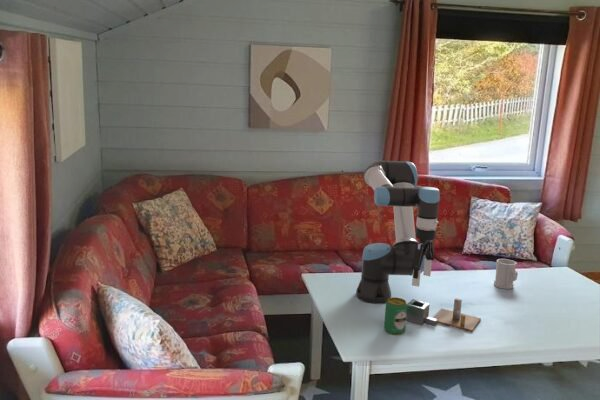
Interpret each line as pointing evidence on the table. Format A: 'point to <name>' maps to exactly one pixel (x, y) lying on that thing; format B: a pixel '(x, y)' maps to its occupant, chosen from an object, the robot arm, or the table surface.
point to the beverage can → (395, 316)
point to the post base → (454, 323)
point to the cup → (505, 273)
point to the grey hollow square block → (419, 313)
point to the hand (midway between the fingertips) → (421, 280)
